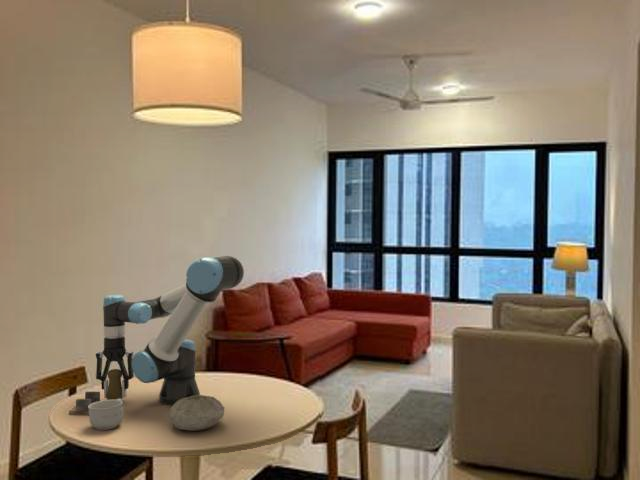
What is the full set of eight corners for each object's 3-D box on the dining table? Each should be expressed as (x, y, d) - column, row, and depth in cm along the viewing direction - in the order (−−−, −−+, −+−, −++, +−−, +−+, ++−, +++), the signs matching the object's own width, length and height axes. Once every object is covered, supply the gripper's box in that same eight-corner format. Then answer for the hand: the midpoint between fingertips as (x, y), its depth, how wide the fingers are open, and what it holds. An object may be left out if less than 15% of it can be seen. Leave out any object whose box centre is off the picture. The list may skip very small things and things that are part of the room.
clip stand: (106, 405, 229) (106, 391, 229) (97, 414, 219) (97, 400, 219) (79, 405, 229) (79, 391, 229) (68, 414, 219) (68, 399, 218)
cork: (126, 398, 235) (126, 369, 235) (111, 401, 231) (111, 372, 230) (118, 395, 239) (118, 366, 239) (103, 398, 235) (103, 369, 234)
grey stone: (170, 419, 215) (170, 391, 214) (222, 416, 219) (222, 388, 218) (169, 438, 197) (169, 406, 197) (226, 434, 201) (226, 403, 201)
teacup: (103, 435, 199) (102, 410, 199) (81, 428, 205) (81, 404, 204) (137, 423, 211) (137, 399, 211) (115, 417, 217) (115, 394, 216)
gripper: (142, 334, 238) (143, 394, 239) (92, 334, 238) (93, 395, 238) (137, 338, 231) (137, 400, 231) (85, 338, 230) (86, 400, 231)
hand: (115, 397), depth 235 cm, fingers closed on cork, 6 cm apart
